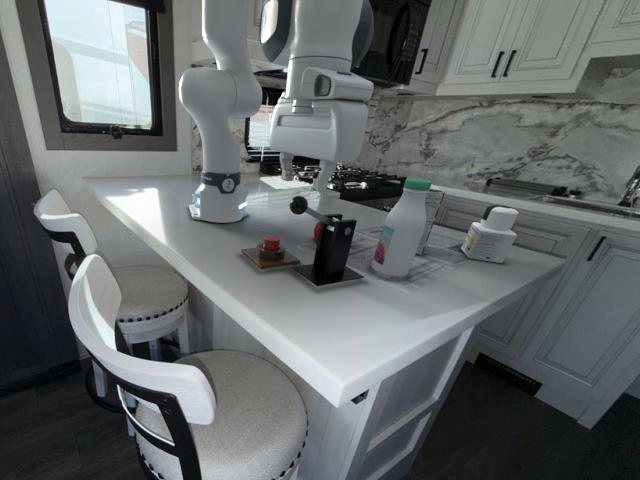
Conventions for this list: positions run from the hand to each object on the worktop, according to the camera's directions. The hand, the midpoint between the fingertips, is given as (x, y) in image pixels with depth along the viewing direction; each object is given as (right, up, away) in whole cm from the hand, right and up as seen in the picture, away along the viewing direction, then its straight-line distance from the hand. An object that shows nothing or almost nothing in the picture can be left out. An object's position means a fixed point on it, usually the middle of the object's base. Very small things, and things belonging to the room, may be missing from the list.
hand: (302, 185), depth 52 cm
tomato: (+13, -5, +31) cm, 34 cm away
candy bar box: (+36, -5, +33) cm, 49 cm away
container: (+54, -8, +30) cm, 62 cm away
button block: (-4, -11, +19) cm, 22 cm away
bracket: (+8, -15, +14) cm, 21 cm away
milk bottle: (+23, -14, +17) cm, 32 cm away
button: (-4, -8, +17) cm, 20 cm away
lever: (+3, -5, +5) cm, 8 cm away
